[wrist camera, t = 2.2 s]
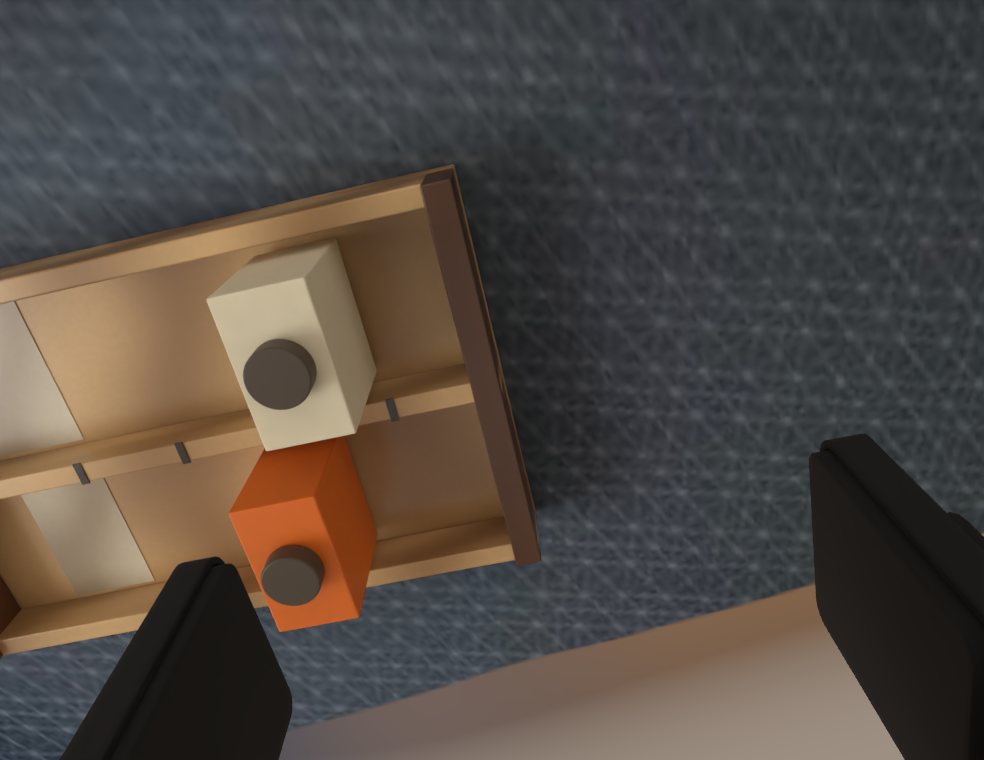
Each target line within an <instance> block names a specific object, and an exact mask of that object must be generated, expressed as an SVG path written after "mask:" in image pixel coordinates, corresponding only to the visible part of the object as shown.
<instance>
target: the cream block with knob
mask: <svg viewBox="0 0 984 760" xmlns="http://www.w3.org/2000/svg"><path fill="white" fill-rule="evenodd" d="M206 301H207V303H208V306H209V308H210V311H211V313H212V316H213V318H214V321H215V324H216V326H217V329H218V331H219V334H220V336H221V339H222V341H223V344H224V346H225V349H226V351H227V354H228V357H229V359H230V362H231V364H232V367H233V369H234V372H235V374H236V377H237V379H238V382H239V384H240V387H241V389H242V392H243V395H244V397H245V400H246V402H247V405H248V407H249V410H250V412H251V415H252V417H253V420H254V422H255V425H256V428H257V430H258V433H259V435H260V438H261V440H262V443H263V445H264V448H265V450H266V451H272V450H277V449H281V448H286V447H291V446H296V445H301V444H306V443H311V442H316V441H321V440H326V439H331V438H335V437H340V436H345V435H350V434H355V433H356V432H357V429H358V426H359V423H360V420H361V417H362V414H363V411H364V408H365V405H366V402H367V399H368V396H369V393H370V390H371V387H372V384H373V381H374V378H375V375H376V372H377V370H376V366H375V363H374V360H373V357H372V353H371V350H370V347H369V344H368V340H367V337H366V334H365V331H364V327H363V324H362V321H361V318H360V315H359V311H358V308H357V305H356V302H355V298H354V295H353V292H352V289H351V285H350V282H349V279H348V276H347V273H346V269H345V266H344V263H343V260H342V256H341V253H340V250H339V247H338V243H337V240H336V238H332V239H327V240H323V241H318V242H314V243H309V244H305V245H301V246H296V247H292V248H287V249H283V250H278V251H274V252H270V253H265V254H261V255H256V256H254V257H253V258H252V259H251V260H250V261H249V262H247V263H246V264H245V265H244V266H243V267H242V268H241V269H240V270H238V271H237V272H236V273H235V274H234V275H233V276H232V277H231V278H229V279H228V280H227V281H226V282H225V283H224V284H223V285H222V286H220V287H219V288H218V289H217V290H216V291H215V292H214V293H213V294H211V295H210V296H209V297H208V298H207V299H206Z"/></svg>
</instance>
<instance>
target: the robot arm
mask: <svg viewBox="0 0 984 760" xmlns="http://www.w3.org/2000/svg"><path fill="white" fill-rule="evenodd" d="M809 469H810V489H811V508H812V528H813V547H814V567H815V586H816V600H817V606H818V610H819V613H820V616H821V618H822V621H823V623H824V625H825V627H826V628H827V630H828V632H829V633H830V635H831V637H832V638H833V640H834V642H835V643H836V645H837V646H838V648H839V650H840V652H841V653H842V655H843V657H844V658H845V660H846V662H847V664H848V665H849V667H850V668H851V670H852V672H853V673H854V675H855V677H856V679H857V680H858V682H859V683H860V685H861V687H862V689H863V690H864V692H865V694H866V695H867V697H868V699H869V700H870V702H871V704H872V705H873V707H874V709H875V710H876V712H877V714H878V715H879V717H880V719H881V721H882V722H883V724H884V726H885V727H886V729H887V731H888V732H889V734H890V736H891V737H892V739H893V741H894V742H895V744H896V746H897V747H898V749H899V751H900V752H901V754H902V756H903V757H904V759H905V760H984V537H983V536H982V535H981V534H980V533H979V532H978V531H977V530H976V529H975V528H974V527H973V526H972V525H971V524H970V523H969V522H968V521H967V520H965V519H964V518H963V517H961V516H960V515H959V514H955V513H951V512H949V513H946V512H945V511H944V510H943V509H942V508H941V507H940V506H939V505H938V504H937V503H936V502H935V501H934V500H933V499H932V498H931V497H930V496H929V495H928V494H927V493H926V492H925V491H924V490H923V489H922V488H921V487H920V486H919V485H918V484H917V483H916V482H915V481H914V480H913V479H912V478H911V477H910V476H909V475H908V474H907V473H906V472H905V471H904V470H903V469H902V468H901V467H900V466H899V465H898V464H897V463H896V462H895V461H894V460H892V459H891V458H890V457H889V456H888V455H887V454H886V453H885V452H884V451H883V450H882V449H881V448H880V447H879V446H878V445H877V444H876V443H875V442H874V441H873V440H872V439H871V438H870V437H869V436H868V435H866V434H858V435H852V436H847V437H842V438H836V439H831V440H826V441H824V442H823V443H822V444H821V448H820V452H817V453H812V454H811V455H810V458H809ZM291 714H292V697H291V692H290V689H289V687H288V684H287V682H286V680H285V678H284V675H283V673H282V671H281V668H280V666H279V664H278V662H277V659H276V657H275V655H274V652H273V650H272V648H271V646H270V643H269V641H268V639H267V637H266V634H265V632H264V630H263V627H262V625H261V623H260V621H259V618H258V616H257V614H256V611H255V609H254V607H253V605H252V602H251V600H250V598H249V595H248V593H247V591H246V589H245V586H244V584H243V582H242V579H241V577H240V575H239V573H238V571H237V569H236V567H235V566H234V565H233V564H230V563H229V564H225V563H224V561H223V560H222V559H221V558H220V557H216V556H215V557H209V558H204V559H199V560H193V561H188V562H183V563H180V564H178V565H177V566H176V568H175V569H174V570H173V572H172V574H171V575H170V577H169V579H168V580H167V582H166V584H165V585H164V587H163V589H162V590H161V592H160V594H159V595H158V597H157V599H156V600H155V602H154V604H153V605H152V607H151V609H150V610H149V612H148V614H147V615H146V617H145V619H144V620H143V622H142V624H141V625H140V627H139V629H138V630H137V632H136V634H135V635H134V637H133V639H132V640H131V642H130V644H129V645H128V647H127V649H126V650H125V652H124V654H123V655H122V657H121V659H120V660H119V662H118V664H117V665H116V667H115V669H114V670H113V672H112V674H111V675H110V677H109V679H108V680H107V682H106V684H105V685H104V687H103V689H102V690H101V692H100V694H99V695H98V697H97V699H96V700H95V702H94V704H93V705H92V707H91V709H90V710H89V712H88V714H87V715H86V717H85V719H84V720H83V722H82V724H81V725H80V727H79V729H78V730H77V732H76V734H75V735H74V737H73V739H72V740H71V742H70V744H69V745H68V747H67V749H66V750H65V752H64V754H63V755H62V757H61V759H60V760H278V759H279V756H280V753H281V749H282V745H283V742H284V739H285V735H286V732H287V728H288V725H289V722H290V718H291Z"/></svg>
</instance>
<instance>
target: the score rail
mask: <svg viewBox="0 0 984 760" xmlns="http://www.w3.org/2000/svg"><path fill="white" fill-rule="evenodd" d="M332 238H336V240H337V243H338V247H339V250H340V253H341V256H342V260H343V263H344V266H345V269H346V273H347V276H348V279H349V282H350V285H351V289H352V292H353V295H354V298H355V302H356V305H357V308H358V311H359V315H360V318H361V321H362V324H363V327H364V331H365V334H366V337H367V340H368V344H369V347H370V350H371V353H372V357H373V360H374V363H375V366H376V370H377V372H376V375H375V378H374V381H373V384H372V387H371V390H370V393H369V396H368V399H367V402H366V405H365V408H364V411H363V414H362V417H361V420H360V423H359V426H358V429H357V432H356V433H355V434H350V435H345V436H344V437H345V440H346V443H347V446H348V449H349V452H350V455H351V458H352V460H353V463H354V466H355V469H356V472H357V475H358V478H359V481H360V484H361V487H362V490H363V493H364V496H365V498H366V501H367V504H368V507H369V510H370V513H371V516H372V519H373V522H374V525H375V528H376V531H377V534H378V535H377V540H376V544H375V549H374V553H373V558H372V562H371V567H370V571H369V576H368V581H367V585H366V587H371V586H377V585H382V584H388V583H393V582H398V581H404V580H409V579H414V578H420V577H425V576H431V575H436V574H441V573H447V572H452V571H457V570H463V569H468V568H473V567H479V566H484V565H490V564H495V563H500V562H506V561H511V560H515V562H516V565H517V566H519V565H525V564H530V563H536V562H540V561H541V553H540V544H539V535H538V526H537V518H536V511H535V506H534V502H533V498H532V493H531V489H530V485H529V481H528V476H527V472H526V468H525V464H524V459H523V455H522V451H521V447H520V442H519V438H518V434H517V430H516V425H515V421H514V417H513V413H512V408H511V404H510V400H509V395H508V391H507V387H506V383H505V378H504V374H503V370H502V366H501V361H500V357H499V353H498V349H497V344H496V340H495V336H494V332H493V327H492V323H491V319H490V314H489V310H488V306H487V302H486V297H485V293H484V289H483V285H482V280H481V276H480V272H479V268H478V263H477V259H476V255H475V251H474V246H473V242H472V238H471V233H470V229H469V225H468V221H467V216H466V212H465V208H464V204H463V199H462V195H461V191H460V187H459V182H458V178H457V174H456V170H455V166H454V164H451V165H446V166H442V167H438V168H433V169H429V170H425V171H420V172H416V173H412V174H407V175H403V176H399V177H394V178H390V179H386V180H381V181H377V182H373V183H368V184H364V185H360V186H355V187H351V188H347V189H343V190H338V191H334V192H330V193H325V194H321V195H317V196H312V197H308V198H304V199H299V200H295V201H291V202H286V203H282V204H278V205H273V206H269V207H265V208H260V209H256V210H252V211H247V212H243V213H239V214H234V215H230V216H226V217H221V218H217V219H213V220H208V221H204V222H200V223H195V224H191V225H187V226H182V227H178V228H174V229H169V230H165V231H161V232H156V233H152V234H148V235H143V236H139V237H135V238H130V239H126V240H122V241H117V242H113V243H109V244H104V245H100V246H96V247H91V248H87V249H83V250H78V251H74V252H70V253H65V254H61V255H57V256H52V257H48V258H44V259H39V260H35V261H31V262H26V263H22V264H18V265H13V266H9V267H5V268H0V658H1V657H2V656H3V655H7V654H12V653H17V652H23V651H28V650H33V649H39V648H44V647H50V646H55V645H60V644H66V643H71V642H76V641H82V640H87V639H92V638H98V637H103V636H109V635H114V634H119V633H125V632H130V631H135V630H138V629H139V627H140V625H141V624H142V622H143V620H144V619H145V617H146V615H147V614H148V612H149V610H150V609H151V607H152V605H153V604H154V602H155V600H156V599H157V597H158V595H159V594H160V592H161V590H162V589H163V587H164V585H165V584H166V582H167V580H168V579H169V577H170V575H171V574H172V572H173V570H174V569H175V568H176V566H177V565H178V564H180V563H183V562H188V561H193V560H199V559H204V558H209V557H215V556H216V557H220V558H221V559H222V560H223V561H224V563H225V564H229V563H230V564H233V565H234V566H235V567H236V569H237V571H238V573H239V575H240V577H241V579H242V582H243V584H244V586H245V589H246V591H247V593H248V595H249V598H250V600H251V602H252V605H253V607H254V608H259V607H264V606H268V604H267V602H266V599H265V597H264V595H263V592H262V590H261V588H260V586H259V583H258V581H257V579H256V576H255V574H254V572H253V569H252V567H251V565H250V563H249V560H248V558H247V556H246V553H245V551H244V549H243V546H242V544H241V542H240V540H239V537H238V535H237V533H236V530H235V528H234V526H233V523H232V521H231V519H230V517H229V511H230V510H231V508H232V506H233V504H234V502H235V501H236V499H237V497H238V495H239V493H240V492H241V490H242V488H243V486H244V484H245V483H246V481H247V479H248V477H249V475H250V473H251V472H252V470H253V468H254V466H255V464H256V463H257V461H258V459H259V457H260V455H261V454H262V452H263V450H264V445H263V443H262V440H261V438H260V435H259V433H258V430H257V428H256V425H255V422H254V420H253V417H252V415H251V412H250V410H249V407H248V405H247V402H246V400H245V397H244V395H243V392H242V389H241V387H240V384H239V382H238V379H237V377H236V374H235V372H234V369H233V367H232V364H231V362H230V359H229V357H228V354H227V351H226V349H225V346H224V344H223V341H222V339H221V336H220V334H219V331H218V329H217V326H216V324H215V321H214V318H213V316H212V313H211V311H210V308H209V306H208V303H207V301H206V299H207V298H208V297H209V296H210V295H211V294H213V293H214V292H215V291H216V290H217V289H218V288H219V287H220V286H222V285H223V284H224V283H225V282H226V281H227V280H228V279H229V278H231V277H232V276H233V275H234V274H235V273H236V272H237V271H238V270H240V269H241V268H242V267H243V266H244V265H245V264H246V263H247V262H249V261H250V260H251V259H252V258H253V257H254V256H256V255H261V254H265V253H270V252H274V251H278V250H283V249H287V248H292V247H296V246H301V245H305V244H309V243H314V242H318V241H323V240H327V239H332Z"/></svg>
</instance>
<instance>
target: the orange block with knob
mask: <svg viewBox="0 0 984 760" xmlns="http://www.w3.org/2000/svg"><path fill="white" fill-rule="evenodd" d="M229 517H230V519H231V521H232V523H233V526H234V528H235V530H236V533H237V535H238V537H239V540H240V542H241V544H242V546H243V549H244V551H245V553H246V556H247V558H248V560H249V563H250V565H251V567H252V569H253V572H254V574H255V576H256V579H257V581H258V583H259V586H260V588H261V590H262V592H263V595H264V597H265V599H266V602H267V604H268V606H269V609H270V611H271V613H272V616H273V618H274V620H275V622H276V625H277V627H278V629H279V631H280V632H283V631H289V630H294V629H300V628H305V627H311V626H316V625H321V624H327V623H332V622H338V621H343V620H349V619H354V618H358V617H360V612H361V608H362V603H363V599H364V594H365V590H366V585H367V581H368V576H369V571H370V567H371V562H372V558H373V553H374V549H375V544H376V540H377V535H378V534H377V531H376V528H375V525H374V522H373V519H372V516H371V513H370V510H369V507H368V504H367V501H366V498H365V496H364V493H363V490H362V487H361V484H360V481H359V478H358V475H357V472H356V469H355V466H354V463H353V460H352V458H351V455H350V452H349V449H348V446H347V443H346V440H345V437H344V436H340V437H335V438H331V439H326V440H321V441H316V442H311V443H306V444H301V445H296V446H291V447H286V448H281V449H277V450H272V451H266V450H265V448H264V450H263V452H262V454H261V455H260V457H259V459H258V461H257V463H256V464H255V466H254V468H253V470H252V472H251V473H250V475H249V477H248V479H247V481H246V483H245V484H244V486H243V488H242V490H241V492H240V493H239V495H238V497H237V499H236V501H235V502H234V504H233V506H232V508H231V510H230V511H229Z"/></svg>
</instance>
